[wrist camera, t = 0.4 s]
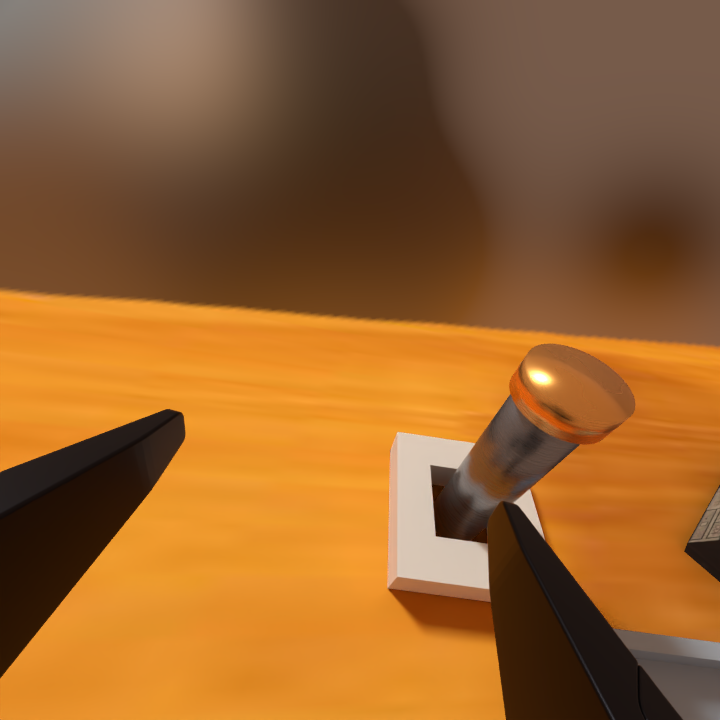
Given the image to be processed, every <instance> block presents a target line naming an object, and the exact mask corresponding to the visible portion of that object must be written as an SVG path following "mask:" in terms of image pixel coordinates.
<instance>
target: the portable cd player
mask: <svg viewBox="0 0 720 720" xmlns="http://www.w3.org/2000/svg"><path fill="white" fill-rule="evenodd" d="M684 552H686V553H687V554H688V555H689V556H690V557H691V558H693V559H694V560H695V561H696V562H697V563H698V564H700V565H701V566H702V567H703V568H704V569H705V570H707V571H708V572H709V573H710V574H711V575H712V576H714V577H715V578H716V579H717V580H718V581H719V582H720V485H719V487H718V489H717V491H716V493H715V494H714V496H713V498H712V500H711V502H710V503H709V505H708V507H707V509H706V511H705V512H704V514H703V516H702V518H701V520H700V521H699V523H698V525H697V527H696V529H695V530H694V532H693V534H692V536H691V538H690V539H689V541H688V543H687V546H686V549H685V551H684Z"/></svg>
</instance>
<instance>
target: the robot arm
mask: <svg viewBox="0 0 720 720" xmlns="http://www.w3.org/2000/svg"><path fill="white" fill-rule="evenodd" d="M184 439H185V424H184V416H183V414H182V413H181V412H178V411H175V410H171V409H166V410H163V411H160V412H158V413H155V414H152V415H150V416H147V417H145V418H142V419H139V420H137V421H134V422H131V423H129V424H126V425H123V426H121V427H118V428H115V429H113V430H110V431H107V432H105V433H102V434H99V435H97V436H94V437H92V438H89V439H86V440H84V441H81V442H78V443H76V444H73V445H70V446H68V447H65V448H62V449H60V450H57V451H54V452H52V453H49V454H46V455H44V456H41V457H39V458H36V459H33V460H31V461H28V462H25V463H23V464H20V465H17V466H15V467H12V468H9V469H7V470H4V471H2V472H0V678H1V677H2V676H3V674H4V673H5V672H6V671H7V669H8V668H9V667H10V666H11V664H12V663H13V662H14V661H15V659H16V658H17V657H18V656H19V654H20V653H21V652H22V651H23V649H24V648H25V647H26V646H27V644H28V643H29V642H30V641H31V639H32V638H33V637H34V636H35V634H36V633H37V632H38V631H39V629H40V628H41V627H42V626H43V625H44V623H45V622H46V621H47V620H48V618H49V617H50V616H51V615H52V613H53V612H54V611H55V610H56V608H57V607H58V606H59V605H60V603H61V602H62V601H63V600H64V598H65V597H66V596H67V595H68V593H69V592H70V591H71V590H72V588H73V587H74V586H75V585H76V583H77V582H78V581H79V580H80V578H81V577H82V576H83V575H84V573H85V572H86V571H87V570H88V569H89V567H90V566H91V565H92V564H93V562H94V561H95V560H96V559H97V557H98V556H99V555H100V554H101V552H102V551H103V550H104V549H105V547H106V546H107V545H108V544H109V542H110V541H111V540H112V539H113V537H114V536H115V535H116V534H117V532H118V531H119V530H120V529H121V527H122V526H123V525H124V524H125V522H126V521H127V520H128V519H129V518H130V516H131V515H132V514H133V513H134V511H135V510H136V509H137V508H138V506H139V505H140V504H141V503H142V501H143V500H144V499H145V498H146V496H147V495H148V494H149V492H150V491H151V490H152V488H153V487H154V485H155V484H156V483H157V481H158V480H159V478H160V477H161V475H162V474H163V472H164V470H165V469H166V467H167V466H168V464H169V463H170V461H171V460H172V458H173V457H174V455H175V454H176V452H177V451H178V449H179V448H180V446H181V444H182V443H183V441H184ZM487 536H488V573H489V591H490V601H491V608H492V616H493V623H494V631H495V639H496V646H497V654H498V662H499V669H500V677H501V685H502V692H503V700H504V708H505V715H506V720H683V719H682V717H681V716H680V715H679V714H678V712H677V711H676V710H675V709H674V707H673V706H672V705H671V703H670V702H669V701H668V700H667V698H666V697H665V696H664V695H663V693H662V692H661V691H660V689H659V688H658V687H657V686H656V684H655V683H654V682H653V680H652V679H651V678H650V676H649V675H648V674H647V673H646V671H645V670H644V669H643V667H642V666H640V665H638V661H637V660H636V658H635V657H634V656H633V654H632V653H631V652H630V651H629V649H628V648H627V647H626V645H625V644H624V643H623V641H622V640H621V639H620V637H619V636H618V635H617V634H616V632H615V631H614V630H613V628H612V627H611V626H610V624H609V623H608V622H607V621H606V619H605V618H604V617H603V615H602V614H601V613H600V611H599V610H598V609H597V607H596V606H595V605H594V604H593V602H592V601H591V600H590V598H589V597H588V596H587V594H586V593H585V592H584V590H583V589H582V588H581V587H580V585H579V584H578V583H577V581H576V580H575V579H574V577H573V576H572V575H571V574H570V572H569V571H568V570H567V568H566V567H565V566H564V564H563V563H562V562H561V560H560V559H559V558H558V557H557V555H556V554H555V553H554V551H553V550H552V549H551V547H550V546H549V545H548V543H547V542H546V541H545V540H544V538H543V537H542V536H541V534H540V533H539V532H538V530H537V529H536V528H535V527H534V525H533V524H532V523H531V521H530V520H529V519H528V517H527V516H526V515H525V513H524V512H523V511H522V510H521V508H520V507H519V506H518V505H516V504H514V503H510V502H507V501H500V502H499V503H498V505H497V507H496V508H495V510H494V511H493V513H492V515H491V516H490V518H489V520H488V525H487Z"/></svg>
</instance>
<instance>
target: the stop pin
mask: <svg viewBox="0 0 720 720" xmlns="http://www.w3.org/2000/svg"><path fill="white" fill-rule="evenodd" d="M509 388H510V396H509V397H508V398H507V400H506V401H505V403H504V404H503V405H502V407H501V408H500V410H499V411H498V412H497V414H496V415H495V417H494V418H493V419H492V421H491V422H490V424H489V425H488V427H487V428H486V429H485V431H484V432H483V434H482V435H481V436H480V438H479V439H478V441H477V442H476V443H475V445H474V446H473V448H472V449H471V450H470V452H469V453H468V455H467V456H466V457H465V459H464V460H463V462H462V463H461V465H460V466H459V467H458V469H457V470H456V472H455V473H454V474H453V476H452V477H451V479H450V480H449V481H448V483H447V484H446V486H445V487H444V488H443V490H442V491H441V493H440V494H439V496H438V497H437V498H436V500H435V501H434V503H433V508H434V521H435V530H436V532H437V533H438V534H439V535H440V536H441V537H443V538H450V539H457V540H464V541H471V540H472V539H473V538H475V537H476V536H477V535H478V534H479V533H480V532H481V531H483V530H484V529H485V528H486V527H487V525H488V520H489V518H490V516H491V515H492V513H493V511H494V510H495V508H496V507H497V505H498V503H499V502H500V501H507V502H510V503H514V502H515V501H517V500H518V499H519V498H520V497H521V496H522V495H523V494H524V493H526V492H527V491H528V490H529V489H530V488H531V487H532V486H533V485H535V484H536V483H537V482H538V481H539V480H540V479H541V478H543V477H544V476H545V475H546V474H547V473H548V472H549V471H550V470H552V469H553V468H554V467H555V466H556V465H557V464H558V463H560V462H561V461H562V460H563V459H564V458H565V457H566V456H567V455H569V454H570V453H571V452H572V451H573V450H574V449H575V448H577V447H578V446H579V445H580V444H583V445H584V444H594V443H597V442H599V441H601V440H603V439H604V438H605V437H606V436H607V435H609V434H610V433H611V432H612V431H613V430H615V429H616V428H617V427H618V426H619V425H621V424H622V423H623V422H624V421H625V420H627V419H628V418H629V417H630V416H631V415H632V414H633V412H634V410H635V399H634V396H633V394H632V392H631V390H630V388H629V387H628V385H627V384H626V383H625V381H624V380H623V379H622V378H621V377H620V376H619V375H618V374H617V373H616V372H615V371H614V370H612V369H611V368H610V367H609V366H607V365H606V364H605V363H603V362H601V361H600V360H598V359H597V358H595V357H593V356H591V355H589V354H587V353H585V352H583V351H580V350H578V349H575V348H572V347H568V346H564V345H559V344H542V345H538V346H535V347H534V348H532V349H531V350H530V351H529V352H528V354H527V355H526V357H525V358H524V360H523V361H522V362H521V364H520V365H519V367H518V368H517V370H516V371H515V373H514V374H513V376H512V377H511V380H510V384H509Z"/></svg>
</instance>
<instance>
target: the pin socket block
mask: <svg viewBox="0 0 720 720" xmlns="http://www.w3.org/2000/svg"><path fill="white" fill-rule="evenodd" d="M474 445H475V443H469V442H462V441H455V440H448V439H442V438H435V437H428V436H422V435H415V434H408V433H402V432H397V435H396V437H395V440H394V443H393V445H392V448H391V450H390V489H389V539H388V588H390V589H397V590H404V591H412V592H419V593H427V594H434V595H442V596H449V597H456V598H464V599H471V600H479V601H486V602H491V601H490V591H489V573H488V544H486V543H479V542H472V541H464V540H457V539H450V538H443V537H436V534H435V521H434V508H433V495H432V485H439V486H446V484H447V483H448V481H449V480H450V479H451V477H452V476H453V474H454V473H455V472H456V470H457V469H458V467H459V466H460V465H461V463H462V462H463V460H464V459H465V457H466V456H467V455H468V453H469V452H470V450H471V449H472V448H473V446H474ZM514 504H516V505H518V506H519V507H520V508H521V510H522V511H523V512H524V513H525V515H526V516H527V517H528V519H529V520H530V521H531V523H532V524H533V525H534V527H535V528H536V529H537V530H538V532H539V533H540V534H541V536H542V537H543V538H544V534H543V531H542V528H541V524H540V521H539V518H538V514H537V511H536V508H535V504H534V501H533V498H532V494H531V491H530V489H529V490H528V491H527V492H526V493H524V494H523V495H522V496H521V497H520V498H519V499H518V500H517V501H515V502H514ZM486 529H487V527H486ZM544 540H545V538H544Z"/></svg>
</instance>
